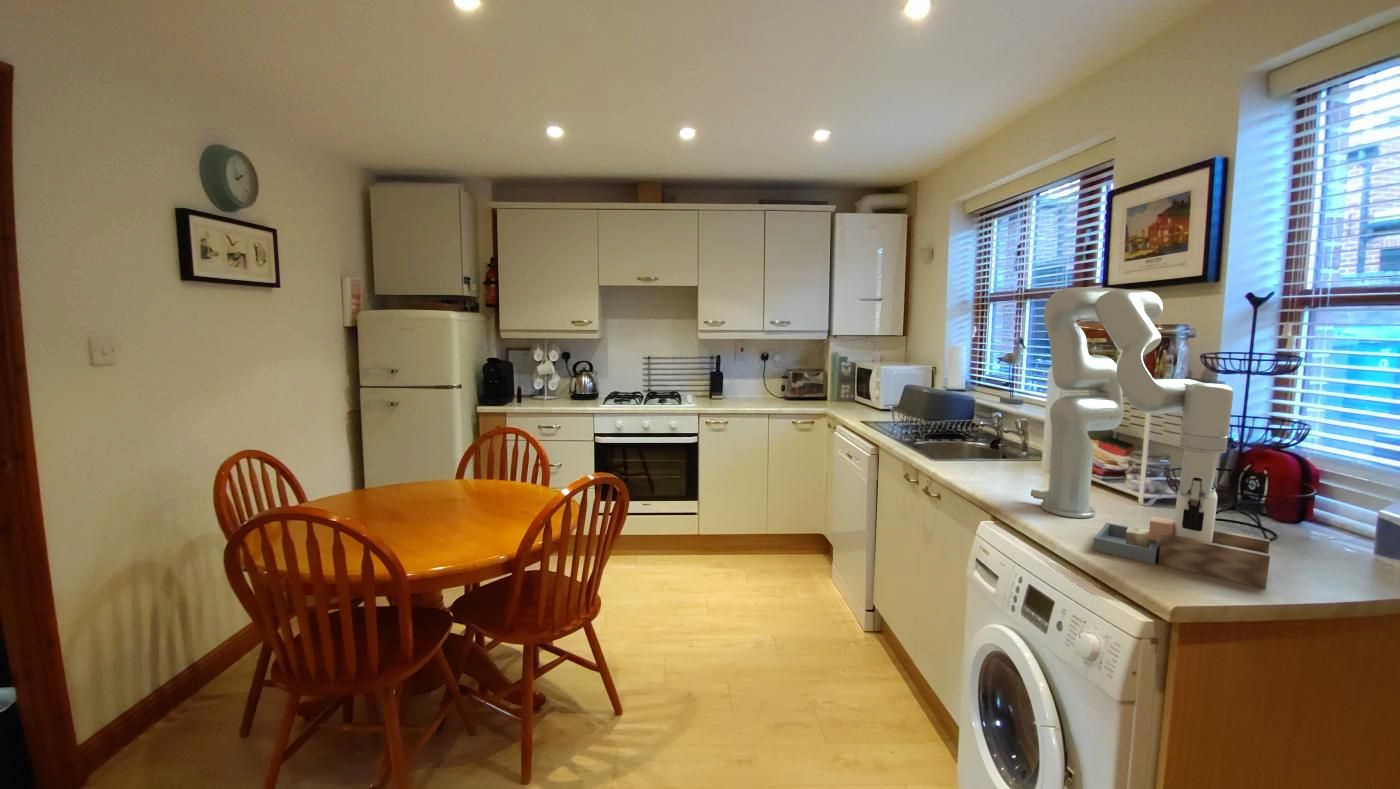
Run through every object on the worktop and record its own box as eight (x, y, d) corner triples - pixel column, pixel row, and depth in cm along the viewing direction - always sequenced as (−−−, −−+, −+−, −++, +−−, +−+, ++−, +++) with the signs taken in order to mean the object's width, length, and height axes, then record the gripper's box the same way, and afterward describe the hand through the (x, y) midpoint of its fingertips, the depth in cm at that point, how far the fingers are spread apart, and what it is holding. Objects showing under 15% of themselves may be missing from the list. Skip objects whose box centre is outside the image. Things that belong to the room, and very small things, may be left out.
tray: (1093, 550, 131) (1094, 537, 131) (1105, 534, 141) (1106, 522, 141) (1154, 564, 124) (1156, 551, 124) (1163, 546, 134) (1164, 534, 134)
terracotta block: (1148, 538, 128) (1150, 521, 127) (1149, 533, 131) (1151, 516, 130) (1172, 542, 125) (1173, 524, 125) (1172, 537, 128) (1174, 520, 128)
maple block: (1147, 553, 128) (1125, 549, 131) (1149, 547, 131) (1127, 544, 134) (1148, 535, 128) (1126, 531, 131) (1150, 530, 131) (1128, 527, 134)
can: (1165, 537, 127) (1171, 484, 125) (1183, 533, 129) (1189, 480, 128) (1200, 548, 121) (1207, 492, 119) (1218, 543, 123) (1225, 488, 122)
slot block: (1158, 564, 124) (1161, 534, 123) (1165, 548, 133) (1168, 520, 132) (1265, 588, 113) (1269, 556, 112) (1265, 569, 121) (1269, 539, 121)
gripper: (1183, 434, 131) (1174, 511, 133) (1175, 446, 118) (1166, 531, 121) (1228, 438, 126) (1218, 519, 128) (1225, 452, 113) (1214, 540, 116)
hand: (1193, 524), depth 124 cm, fingers closed on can, 6 cm apart
